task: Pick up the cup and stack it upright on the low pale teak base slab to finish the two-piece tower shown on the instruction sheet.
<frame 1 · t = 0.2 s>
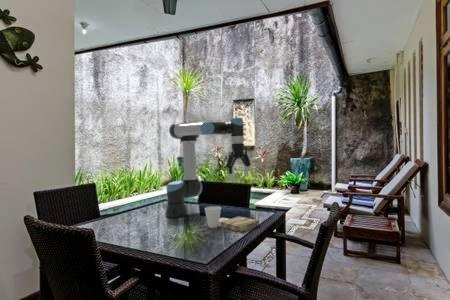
hand: (239, 177, 183), 27 cm above the table, fingers open, 13 cm apart
cup: (213, 227, 177), on the table
instruction sheet: (226, 220, 189), on the table
plinth block: (240, 226, 176), on the table
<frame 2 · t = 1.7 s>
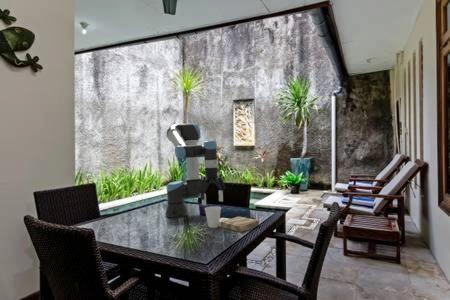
hand: (212, 203, 176), 14 cm above the table, fingers open, 13 cm apart
nothing on the table moved.
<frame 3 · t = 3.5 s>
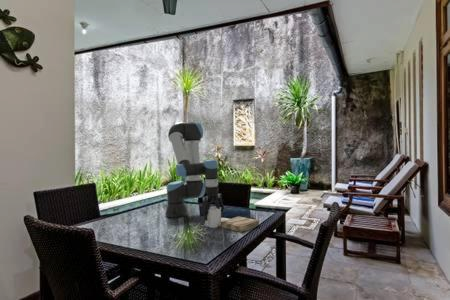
hand: (213, 224, 177), 2 cm above the table, fingers closed on cup, 9 cm apart
cup: (213, 227, 177), on the table, touching gripper
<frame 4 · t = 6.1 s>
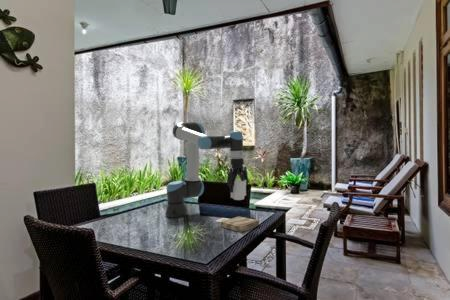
hand: (238, 196, 175), 17 cm above the table, fingers closed on cup, 9 cm apart
cup: (238, 199, 175), point 16 cm above the table, touching gripper
when the fingers open (5 cm above the table, at t = 8.6 s): cup stays where it is, resting on plinth block.
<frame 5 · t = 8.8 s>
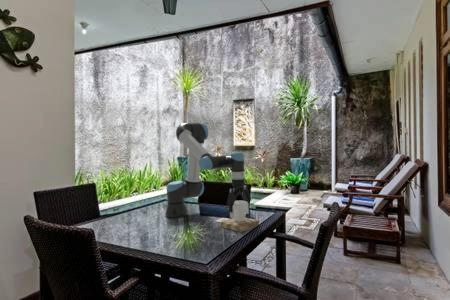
hand: (239, 215, 176), 6 cm above the table, fingers open, 12 cm apart
cup: (239, 221, 176), point 3 cm above the table, touching plinth block
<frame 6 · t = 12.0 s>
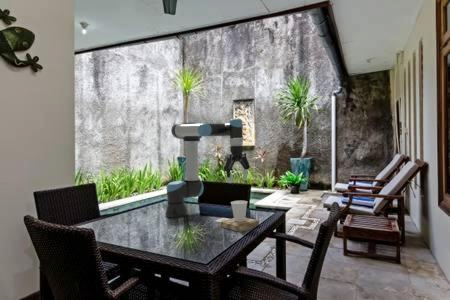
hand: (237, 181, 177), 26 cm above the table, fingers open, 13 cm apart
nothing on the table moved.
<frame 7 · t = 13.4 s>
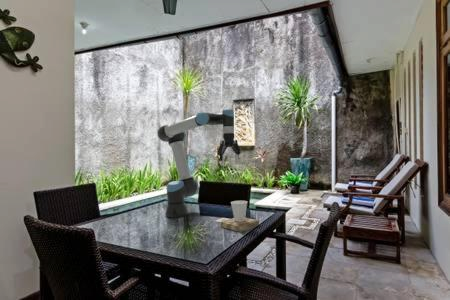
hand: (229, 164, 200), 34 cm above the table, fingers open, 13 cm apart
nothing on the table moved.
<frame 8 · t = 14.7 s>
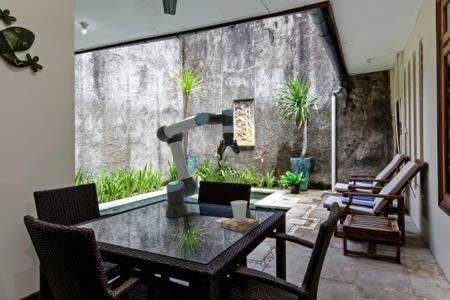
hand: (229, 164, 202), 35 cm above the table, fingers open, 13 cm apart
nothing on the table moved.
at the end: cup inside the target area on the plinth block (0.1 cm from its centre), point 3.0 cm above the plinth block's base; cup tilted 0°; the gripper is holding nothing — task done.
